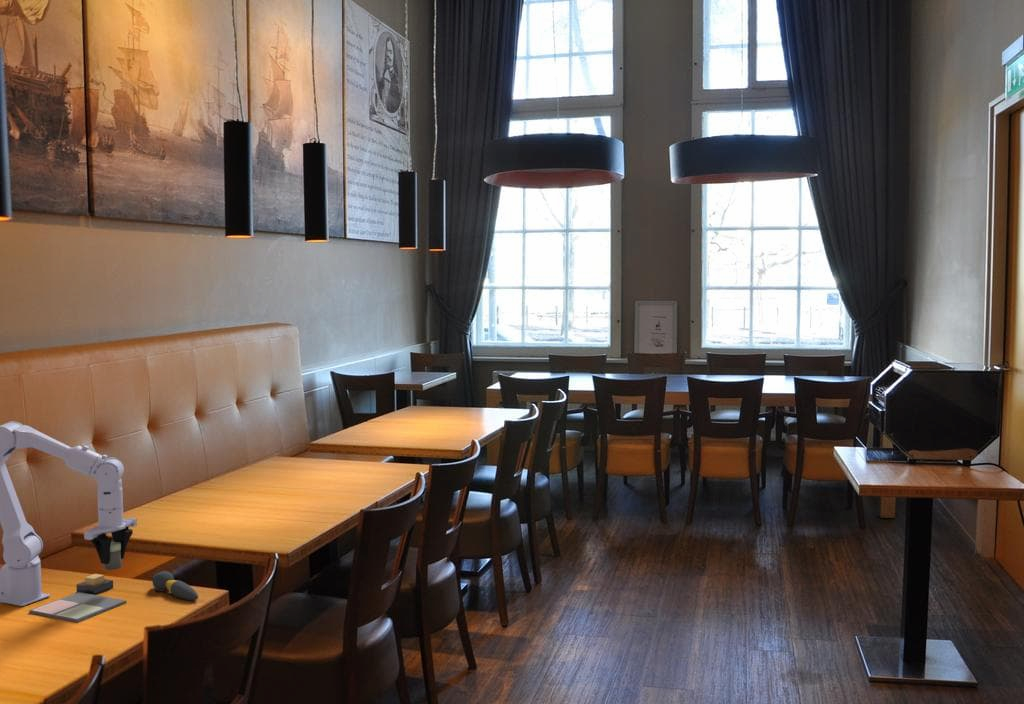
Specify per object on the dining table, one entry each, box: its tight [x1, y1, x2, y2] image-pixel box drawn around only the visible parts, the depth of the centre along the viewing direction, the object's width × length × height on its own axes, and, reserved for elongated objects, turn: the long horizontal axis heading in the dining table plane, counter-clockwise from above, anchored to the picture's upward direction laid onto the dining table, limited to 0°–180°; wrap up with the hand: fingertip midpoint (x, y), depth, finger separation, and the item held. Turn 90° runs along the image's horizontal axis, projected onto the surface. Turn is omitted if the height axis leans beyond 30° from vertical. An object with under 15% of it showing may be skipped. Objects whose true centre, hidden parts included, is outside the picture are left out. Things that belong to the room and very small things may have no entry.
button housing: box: [75, 578, 114, 595], centre depth 228 cm, size 6×6×2 cm
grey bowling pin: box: [152, 570, 199, 601], centre depth 225 cm, size 20×5×5 cm, turn 57°
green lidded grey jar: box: [103, 541, 122, 571], centre depth 224 cm, size 4×4×6 cm
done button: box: [84, 573, 105, 586], centre depth 228 cm, size 3×3×2 cm
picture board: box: [28, 592, 127, 623], centre depth 215 cm, size 16×14×1 cm
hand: (112, 560), depth 224 cm, fingers closed on green lidded grey jar, 4 cm apart
